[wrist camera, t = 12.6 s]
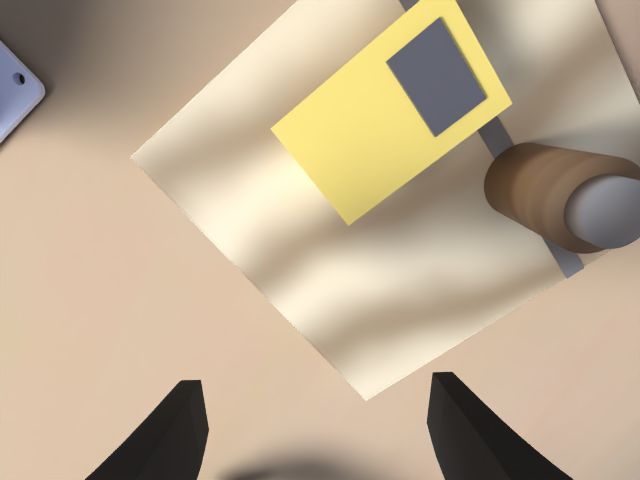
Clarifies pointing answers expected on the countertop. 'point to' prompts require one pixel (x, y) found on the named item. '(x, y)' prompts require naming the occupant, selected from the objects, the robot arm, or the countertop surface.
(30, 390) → the countertop surface
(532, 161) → the bottle
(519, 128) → the cream striped towel
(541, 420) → the countertop surface
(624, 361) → the countertop surface
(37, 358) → the countertop surface
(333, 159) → the block
